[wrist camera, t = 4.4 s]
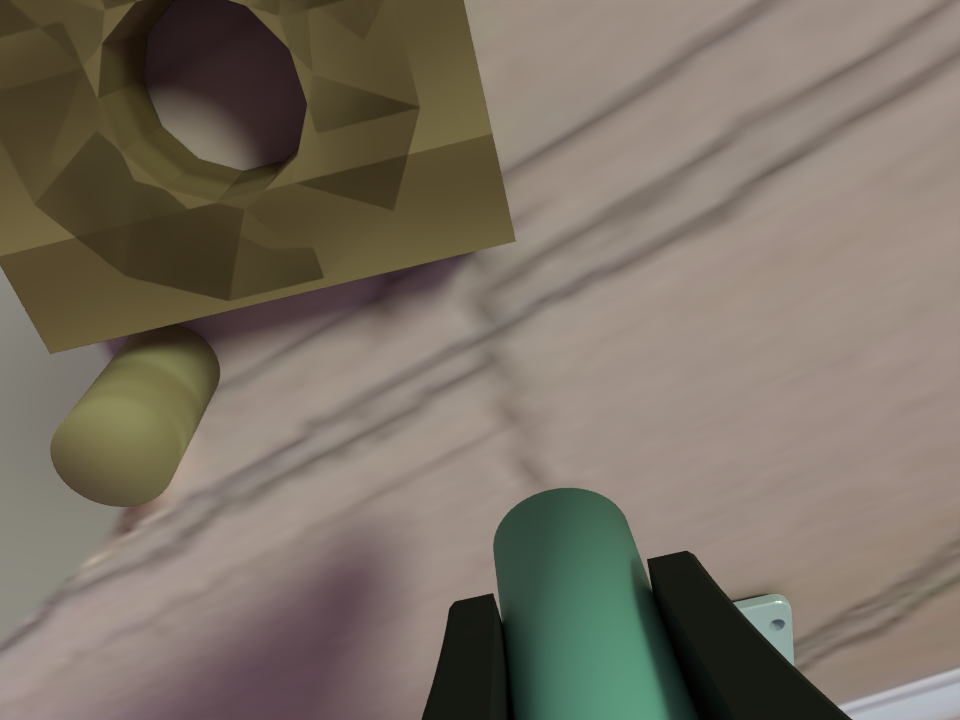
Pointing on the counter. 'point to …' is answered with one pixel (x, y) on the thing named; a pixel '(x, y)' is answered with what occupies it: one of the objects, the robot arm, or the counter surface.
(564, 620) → the long dowel
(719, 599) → the robot arm
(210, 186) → the board
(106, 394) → the short dowel
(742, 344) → the counter surface
